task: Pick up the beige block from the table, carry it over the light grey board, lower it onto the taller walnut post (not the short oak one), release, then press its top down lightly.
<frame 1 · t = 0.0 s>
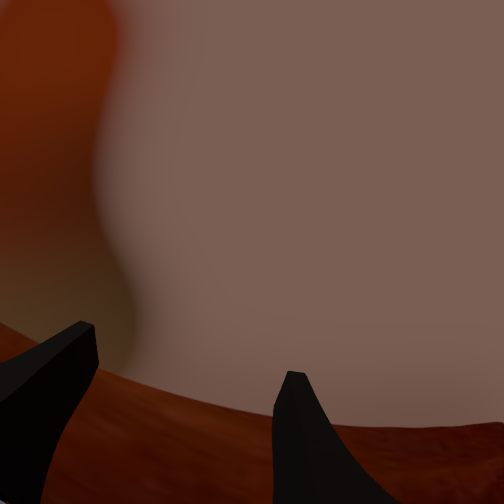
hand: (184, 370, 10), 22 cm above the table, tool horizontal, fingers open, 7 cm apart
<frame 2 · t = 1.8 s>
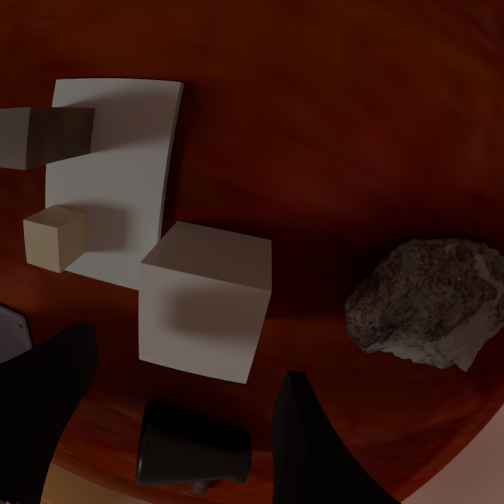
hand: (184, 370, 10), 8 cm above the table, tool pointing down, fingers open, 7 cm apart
walnut post: (79, 129, 15), resting on grey board
mineral rock: (439, 286, 18), on the table
beige block: (216, 272, 18), on the table
grey board: (102, 182, 16), on the table
coffee pot: (187, 447, 26), on the table
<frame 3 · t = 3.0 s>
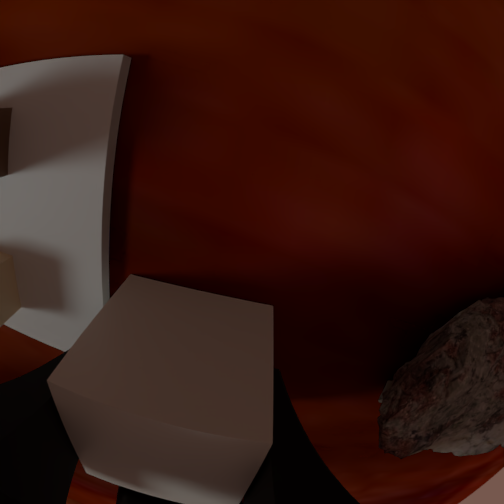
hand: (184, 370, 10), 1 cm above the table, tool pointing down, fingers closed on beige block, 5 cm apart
walnut post: (0, 139, 9), resting on grey board
mineral rock: (490, 346, 12), on the table
beige block: (192, 346, 12), on the table, touching gripper
grey board: (28, 215, 10), on the table
coffee pot: (176, 502, 20), on the table
when the fingers open (4 cm above the table, at t = 6.3 s): beige block drops 1 cm, resting on walnut post.
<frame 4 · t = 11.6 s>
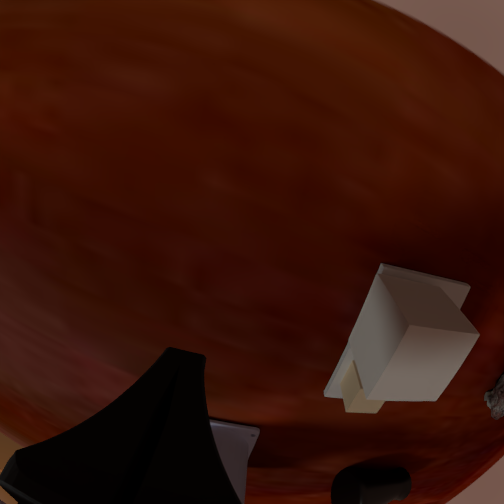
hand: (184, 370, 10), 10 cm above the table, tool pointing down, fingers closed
beige block: (395, 314, 19), point 1 cm above the table, touching walnut post
grey board: (396, 342, 21), on the table
coffee pot: (350, 485, 32), on the table
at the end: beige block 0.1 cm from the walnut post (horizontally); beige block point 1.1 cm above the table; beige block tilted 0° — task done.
